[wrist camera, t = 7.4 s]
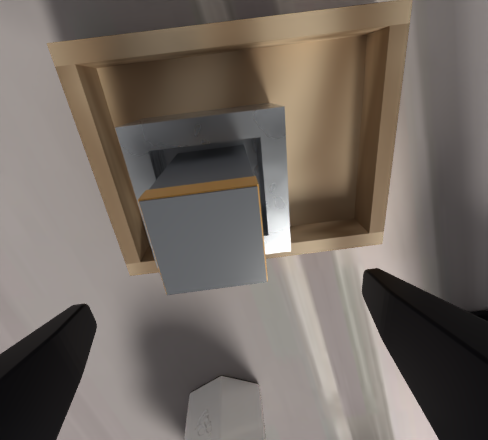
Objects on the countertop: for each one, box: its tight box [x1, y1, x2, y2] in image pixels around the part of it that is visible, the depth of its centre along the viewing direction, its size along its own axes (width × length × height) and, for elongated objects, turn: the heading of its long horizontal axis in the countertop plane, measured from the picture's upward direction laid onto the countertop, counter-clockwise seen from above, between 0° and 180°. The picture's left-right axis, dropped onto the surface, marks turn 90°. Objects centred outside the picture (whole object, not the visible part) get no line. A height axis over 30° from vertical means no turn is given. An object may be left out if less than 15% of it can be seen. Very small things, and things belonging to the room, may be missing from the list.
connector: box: [138, 145, 268, 295], centre depth 14 cm, size 4×4×8 cm
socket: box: [115, 103, 291, 268], centre depth 17 cm, size 8×8×6 cm
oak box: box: [47, 0, 412, 276], centre depth 18 cm, size 18×14×4 cm
